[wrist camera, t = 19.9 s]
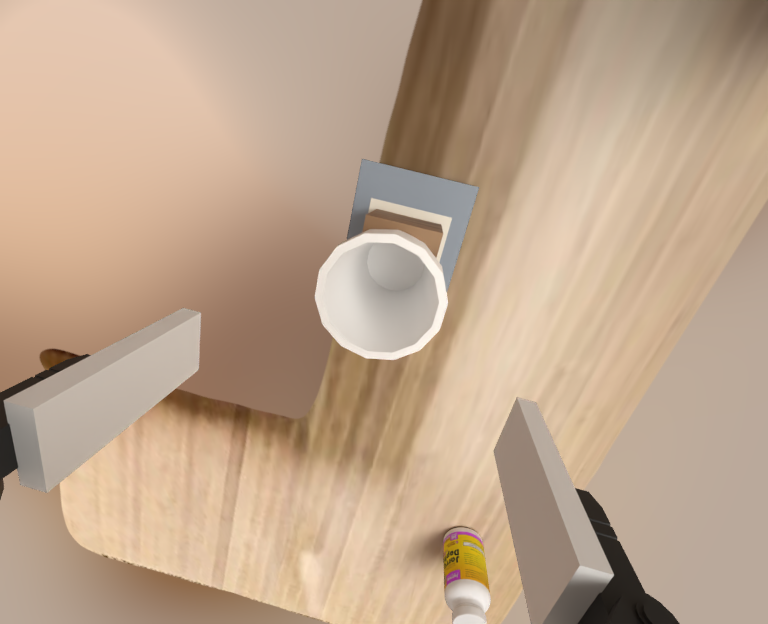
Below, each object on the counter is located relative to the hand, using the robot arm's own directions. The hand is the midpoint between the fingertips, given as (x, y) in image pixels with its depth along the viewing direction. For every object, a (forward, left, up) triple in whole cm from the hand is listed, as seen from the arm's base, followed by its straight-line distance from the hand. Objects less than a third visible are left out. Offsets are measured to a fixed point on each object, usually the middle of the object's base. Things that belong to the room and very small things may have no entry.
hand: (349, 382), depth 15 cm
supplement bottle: (+46, +22, -34) cm, 61 cm away
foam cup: (0, 0, -25) cm, 25 cm away
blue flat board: (0, 0, -34) cm, 34 cm away
